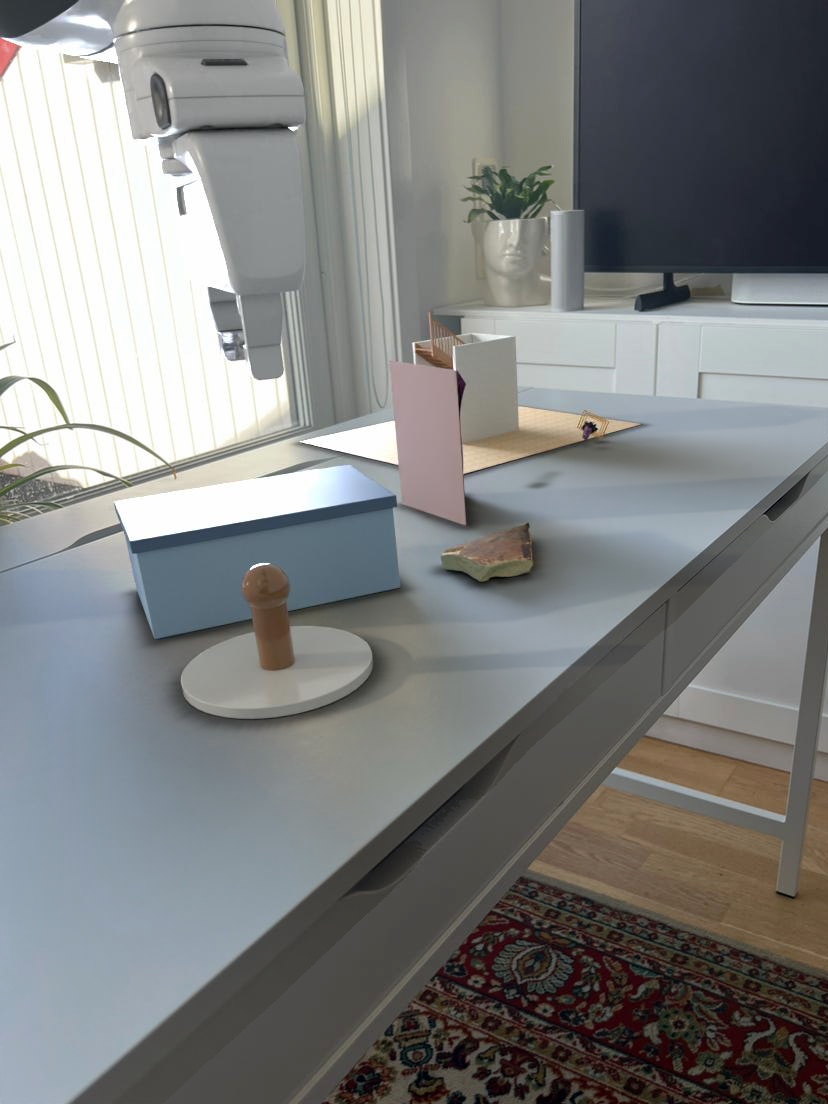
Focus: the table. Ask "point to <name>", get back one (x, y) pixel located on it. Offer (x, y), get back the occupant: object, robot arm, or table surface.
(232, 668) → the peg on round base
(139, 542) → the storage container
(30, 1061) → the table surface
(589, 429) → the framed picture
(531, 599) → the table surface
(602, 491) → the table surface
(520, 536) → the shard
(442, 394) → the greeting card
